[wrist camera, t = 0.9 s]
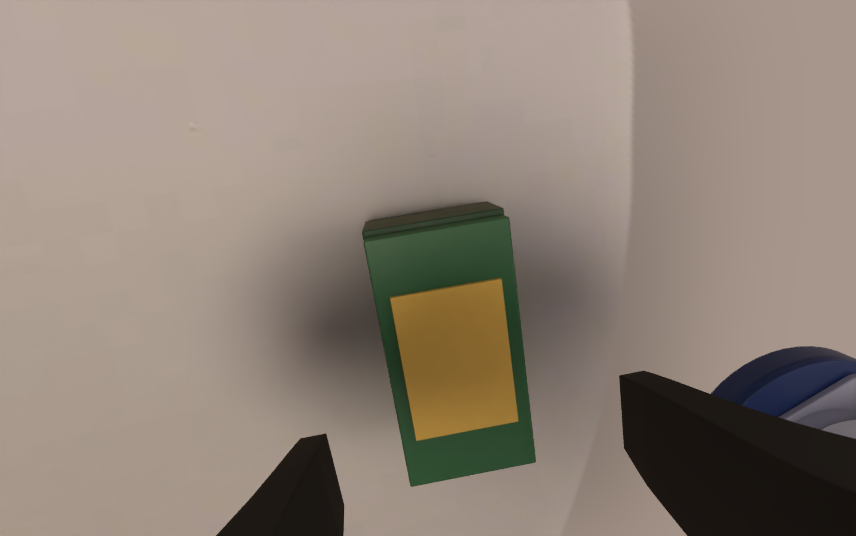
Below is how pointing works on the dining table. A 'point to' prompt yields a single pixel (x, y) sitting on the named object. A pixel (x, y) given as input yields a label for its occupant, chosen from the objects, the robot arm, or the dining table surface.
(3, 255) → the dining table surface
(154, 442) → the dining table surface
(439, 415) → the green box
